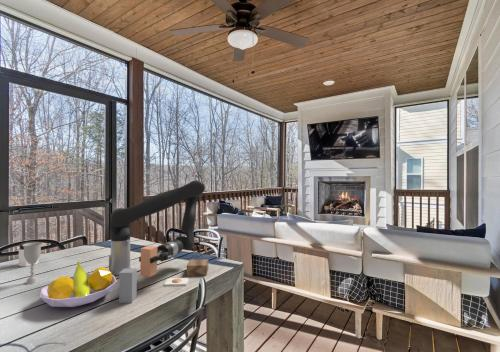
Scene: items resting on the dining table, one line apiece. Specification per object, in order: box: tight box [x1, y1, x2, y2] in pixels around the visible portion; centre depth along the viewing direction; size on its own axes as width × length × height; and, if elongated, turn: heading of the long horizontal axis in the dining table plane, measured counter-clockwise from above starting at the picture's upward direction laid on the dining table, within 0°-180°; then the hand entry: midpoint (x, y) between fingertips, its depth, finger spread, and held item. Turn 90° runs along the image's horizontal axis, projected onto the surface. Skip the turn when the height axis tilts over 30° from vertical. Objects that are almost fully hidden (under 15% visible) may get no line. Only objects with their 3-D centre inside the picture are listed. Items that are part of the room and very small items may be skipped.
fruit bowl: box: [39, 261, 118, 308], centre depth 112 cm, size 28×27×11 cm
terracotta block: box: [139, 245, 158, 277], centre depth 122 cm, size 5×5×12 cm
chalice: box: [23, 241, 43, 285], centre depth 128 cm, size 7×7×18 cm
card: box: [163, 277, 190, 287], centre depth 128 cm, size 10×7×1 cm
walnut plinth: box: [186, 258, 209, 277], centre depth 142 cm, size 10×10×5 cm
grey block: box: [118, 267, 138, 304], centre depth 110 cm, size 5×5×12 cm
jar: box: [18, 240, 40, 268], centre depth 154 cm, size 9×8×12 cm
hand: (145, 260), depth 120 cm, fingers closed on terracotta block, 5 cm apart
